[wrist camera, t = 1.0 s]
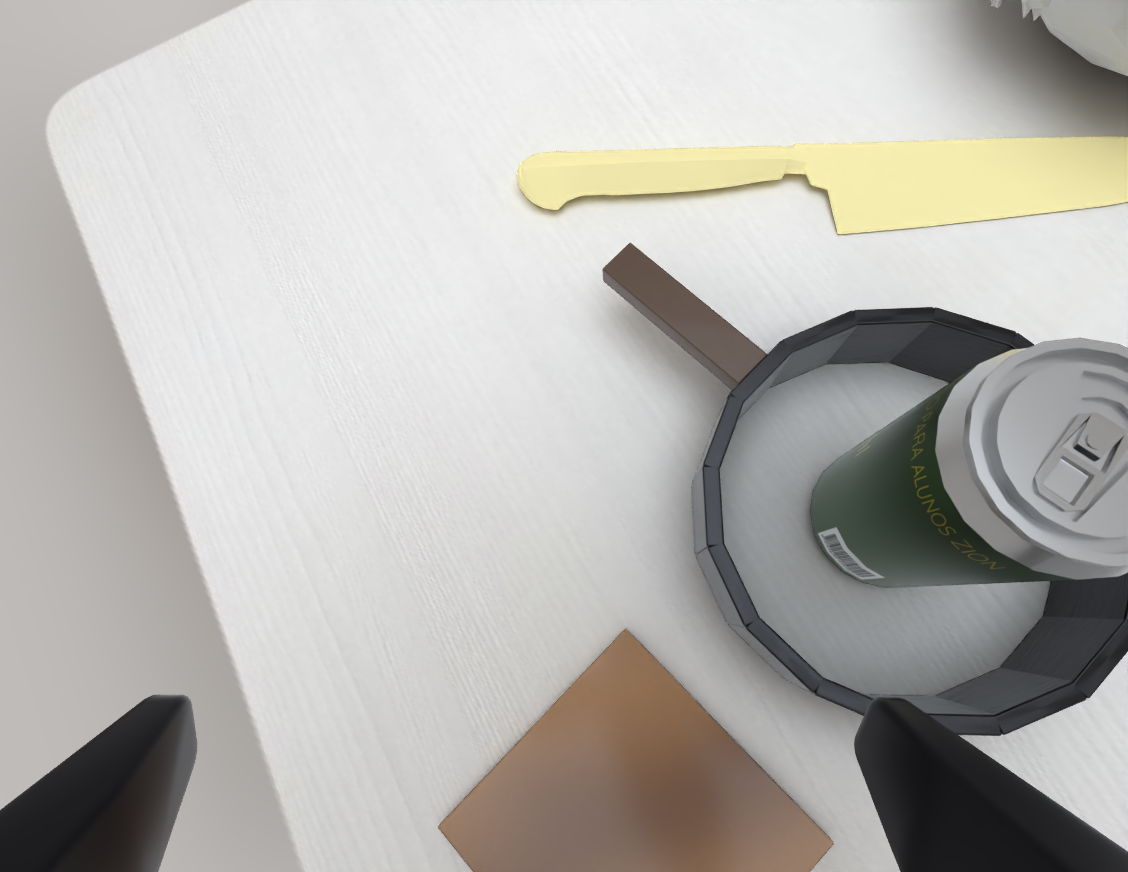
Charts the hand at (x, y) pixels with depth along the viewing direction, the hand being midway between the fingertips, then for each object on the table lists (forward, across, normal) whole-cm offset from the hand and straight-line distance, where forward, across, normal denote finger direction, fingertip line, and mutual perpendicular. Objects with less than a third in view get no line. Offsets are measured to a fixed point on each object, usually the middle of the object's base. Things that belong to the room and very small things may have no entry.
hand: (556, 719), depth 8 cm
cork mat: (+9, -6, +15) cm, 18 cm away
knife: (+22, -16, -8) cm, 29 cm away
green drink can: (+14, -15, +4) cm, 21 cm away
